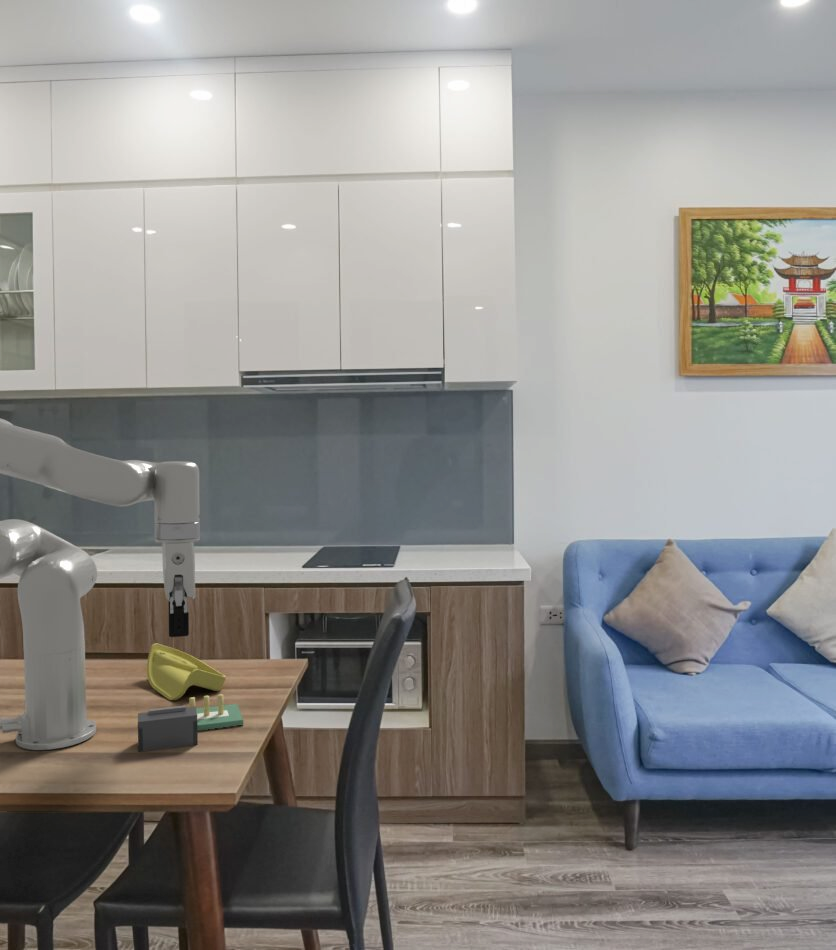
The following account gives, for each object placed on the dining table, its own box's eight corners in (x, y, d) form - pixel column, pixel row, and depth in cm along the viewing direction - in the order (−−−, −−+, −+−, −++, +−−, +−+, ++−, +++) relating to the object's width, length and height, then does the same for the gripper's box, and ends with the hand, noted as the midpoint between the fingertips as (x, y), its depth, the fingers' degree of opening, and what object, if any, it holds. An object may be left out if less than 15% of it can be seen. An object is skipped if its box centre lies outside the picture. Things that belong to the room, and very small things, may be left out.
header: (173, 733, 135) (172, 708, 134) (171, 716, 143) (171, 692, 143) (243, 725, 139) (242, 700, 139) (237, 708, 147) (237, 685, 147)
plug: (138, 752, 127) (137, 718, 127) (138, 742, 131) (137, 709, 131) (197, 744, 130) (197, 711, 130) (196, 734, 134) (195, 703, 134)
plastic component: (230, 679, 159) (190, 667, 152) (215, 714, 157) (173, 703, 151) (186, 652, 173) (148, 640, 167) (172, 684, 172) (132, 673, 165)
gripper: (201, 537, 128) (202, 640, 128) (197, 526, 144) (198, 617, 145) (153, 539, 125) (155, 643, 126) (155, 527, 142) (156, 620, 142)
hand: (178, 629), depth 135 cm, fingers open, 9 cm apart
